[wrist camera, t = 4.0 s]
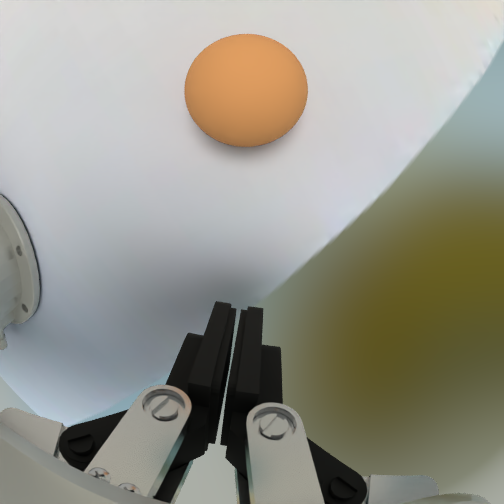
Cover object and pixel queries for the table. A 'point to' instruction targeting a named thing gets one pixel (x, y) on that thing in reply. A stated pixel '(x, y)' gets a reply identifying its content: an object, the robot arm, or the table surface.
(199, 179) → the table surface
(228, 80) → the ball
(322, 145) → the table surface
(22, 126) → the table surface
